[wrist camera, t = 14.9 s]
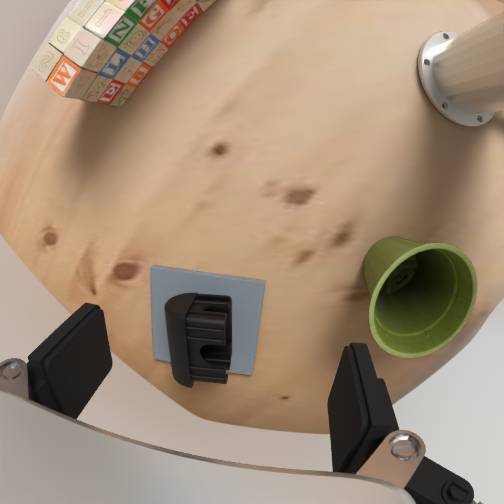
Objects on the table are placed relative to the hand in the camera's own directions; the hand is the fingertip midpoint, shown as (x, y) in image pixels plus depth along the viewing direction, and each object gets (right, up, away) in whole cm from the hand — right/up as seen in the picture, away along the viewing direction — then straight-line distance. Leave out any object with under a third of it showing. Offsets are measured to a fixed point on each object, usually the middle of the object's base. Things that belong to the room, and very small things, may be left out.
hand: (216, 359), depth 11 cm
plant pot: (+18, +3, +25) cm, 31 cm away
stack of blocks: (-10, +31, +19) cm, 37 cm away
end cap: (-5, -5, +29) cm, 29 cm away
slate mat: (-5, -5, +29) cm, 30 cm away
